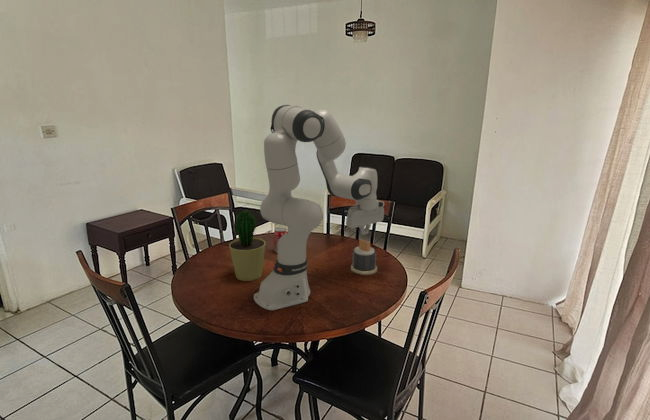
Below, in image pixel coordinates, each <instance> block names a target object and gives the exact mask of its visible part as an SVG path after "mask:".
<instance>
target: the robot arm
mask: <svg viewBox="0 0 650 420" xmlns="http://www.w3.org/2000/svg"><path fill="white" fill-rule="evenodd" d="M270 132H271V133H270V134H268V135H267V136H266V137H265V138H264V141H263V145H264V146H263V151H264V152H263V153H264V163H265V167H266V168H265V169H266V172H267V178H268V185H269V189H268V190H269V191H268V194H267V196H266V197H264V199H263V200H262V201H261V203H260V208H259V209H260V210H259V211H260V215H261V217H262V218H263V219H264V220H266V221H268V222H270V223H272V224H274V225H275V224H276V225H280V226H286V227H287V234H286V235H284V236H282V237H281V238H280V239H279V240H278V242H277V252H276V253H277V254H276V255H277V258H276V261H275V263H274V262H273V261H270V262H268V267H269V268H271V269H273V270H272V271H271V272H270V273H269V274H268V275H267V276H266V277H265V278H264V279H263V280H262V281H261V282H260V285H259V290H258V292H256V293H254V294H253V301H254V302H255V304H257V305H258V306H259V307H261V308H263V309H265V310H266V311H267V310H268V311H276V310H279V309H280V310H281V309H285V308H288V307H292V306H296V305H300V304H303V303H306V302H308V301H309V296H310V295H311V289H310V285H309V281H308V275H307V274H308V273H307V271H308V270H307V269H308V259H307V242H308V238H309V236H310V234H311V233H312V232H313V231H314V230H315V229H317V228H318V227H319V226H320V225H321V223H322V221H323V216H324V212H323V209H322V207H321V205H320V203H317V202H315V201H313V200H310V199H305V198H297V197H294V196H293V195H292V191H293V190H295V189H296V188H298V186H299V184H300V182H301V175H300V169H299V164H298V163H299V162H298V157H297V154H296V147H297V146H296V145H297V143H298V141H299V142H301V143H312V142H313V144H314V146H315V148H316V152H315V154H316V159H317V162H318V164H319V166H320V169H321V172H322V174H323V176H324V179H325V183H326V188H327V192H328V193H329V195H331V197H336V198H344V199H348V200H354V201H355V205H354V206H353V205H352V206H350V207H349V209H348V210H347V215H346V219H345V220H346V221H345V225H346V227H347V228H350V229H355V228H359V229H360V234H361V235H362V236H364V235H368V234H369V230H370V229H371V226H372V224H376V223H381V222H383V221H384V219H385V218H384V217H385V208H384V206H385V202H384V201H381V200H379V199H377V198H378V197H377V191H378V190H377V189H378V172H377V170H376V169H375V168H374V167H368V166H359V167H358V171H357V172H356V173H355V174H353V175H347V174H343V173H341V172H340V171H338V169H337V166H336V163H335V160H337V159H338V158H339V157H341V156H342V154H343V153H344V151H345V150H346V145H347V142H346V138H345V136H344V134H343V132H342V129H341V128H340V126H339V124H338V123H337V121H336V119H335V118H334V116H333V115H332V114H331V112H330V111H328V110H327V109H324V108H319V109H316V110H314V111H313V110H310V109H306V108H303V107H301V106H298V105H291V104H283V105H280V106H278V107H277V108H275V109H274V111H273V113H272V116H271V124H270Z"/></svg>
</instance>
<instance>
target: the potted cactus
mask: <svg viewBox="0 0 650 420" xmlns="http://www.w3.org/2000/svg"><path fill="white" fill-rule="evenodd" d="M252 213H253V212H252ZM252 213H251V211H250V210H242V211H241V212H239V213H237V216H236V217H235V219H236V220H234V221H235V222H236V228H235V233H237V237H238V239H235V240H233V241H231V242H229V244H228V246H229V252H230V256H231V260H232V261H231V262H232V265H233V269H234V273H235V277H236V279H237V280H240V281H243V282H251V281H256V280H258V279H260V278H261V277H262V276H263V271H264V261H265V260H264V259H265V251H266V244H267V243H266V241H265V240H264V239H262V238H258V237H255V236H256V234H255V231H256V229H257V227H256V226H257V224H256V218H255V216H254V215H253V214H252Z"/></svg>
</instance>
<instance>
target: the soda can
mask: <svg viewBox="0 0 650 420" xmlns="http://www.w3.org/2000/svg"><path fill="white" fill-rule="evenodd" d="M287 233H288V230H287V228H286V227H276V228H275V229H274V231H273V249H274V252H275V253H277V242H278V240H279V239H280V238H281V237H282V236H284V235H286V234H287Z"/></svg>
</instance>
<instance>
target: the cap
mask: <svg viewBox="0 0 650 420" xmlns="http://www.w3.org/2000/svg"><path fill="white" fill-rule="evenodd" d="M358 241H359V242H358V244H359V245H358V246H356V247H355V248H354V250H353V251H354V252H355V253H356V254H357V255H361V256H370V255H373V254H374V251H375V252H376V250H375V248H374V247H372V246H371V241H368V240H365V239H359V240H358Z"/></svg>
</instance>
